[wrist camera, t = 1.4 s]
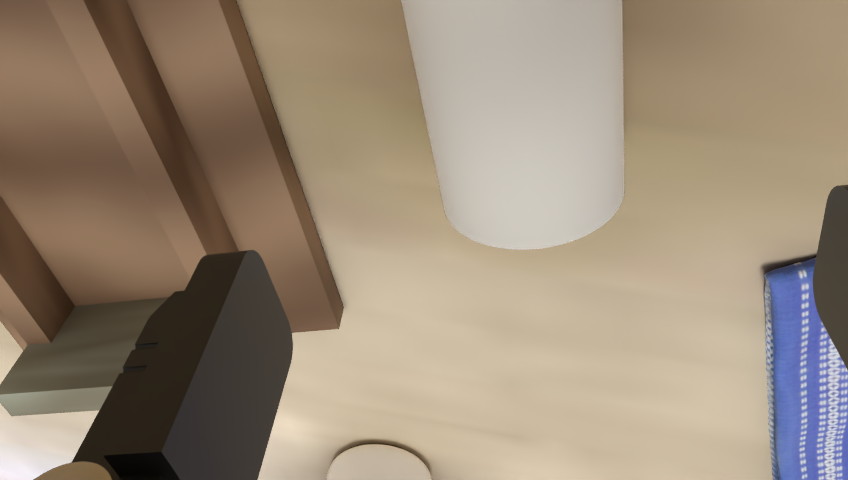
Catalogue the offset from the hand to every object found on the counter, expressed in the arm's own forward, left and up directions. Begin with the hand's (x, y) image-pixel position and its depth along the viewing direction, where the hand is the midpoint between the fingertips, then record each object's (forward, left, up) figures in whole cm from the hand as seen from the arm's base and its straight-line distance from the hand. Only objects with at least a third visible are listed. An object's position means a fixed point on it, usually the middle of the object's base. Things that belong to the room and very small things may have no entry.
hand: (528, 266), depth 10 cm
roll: (0, 0, -13) cm, 13 cm away
